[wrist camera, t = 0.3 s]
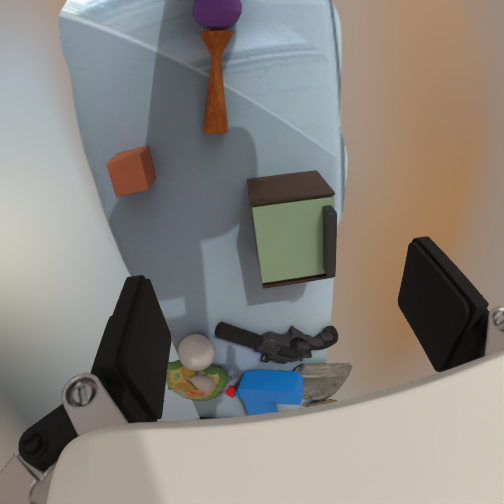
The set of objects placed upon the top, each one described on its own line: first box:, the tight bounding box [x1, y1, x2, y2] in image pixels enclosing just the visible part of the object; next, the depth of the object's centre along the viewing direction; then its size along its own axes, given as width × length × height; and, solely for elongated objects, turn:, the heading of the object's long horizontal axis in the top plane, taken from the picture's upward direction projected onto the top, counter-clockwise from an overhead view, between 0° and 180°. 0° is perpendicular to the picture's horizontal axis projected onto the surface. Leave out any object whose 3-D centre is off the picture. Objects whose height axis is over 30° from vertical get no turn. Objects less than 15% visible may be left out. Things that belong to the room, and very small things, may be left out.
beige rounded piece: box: [178, 334, 215, 392], centre depth 60 cm, size 8×10×12 cm
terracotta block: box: [107, 146, 156, 197], centre depth 41 cm, size 5×5×5 cm
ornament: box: [306, 399, 336, 407], centre depth 79 cm, size 10×2×15 cm
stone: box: [294, 364, 352, 400], centre depth 73 cm, size 18×3×15 cm
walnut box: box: [247, 171, 335, 289], centre depth 46 cm, size 14×11×9 cm
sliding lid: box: [252, 195, 337, 283], centre depth 42 cm, size 12×11×3 cm
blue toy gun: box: [225, 370, 303, 415], centre depth 72 cm, size 29×20×6 cm
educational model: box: [166, 360, 232, 401], centre depth 67 cm, size 14×8×15 cm
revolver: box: [215, 322, 338, 364], centre depth 63 cm, size 3×25×15 cm
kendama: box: [193, 0, 242, 134], centre depth 34 cm, size 6×6×20 cm
